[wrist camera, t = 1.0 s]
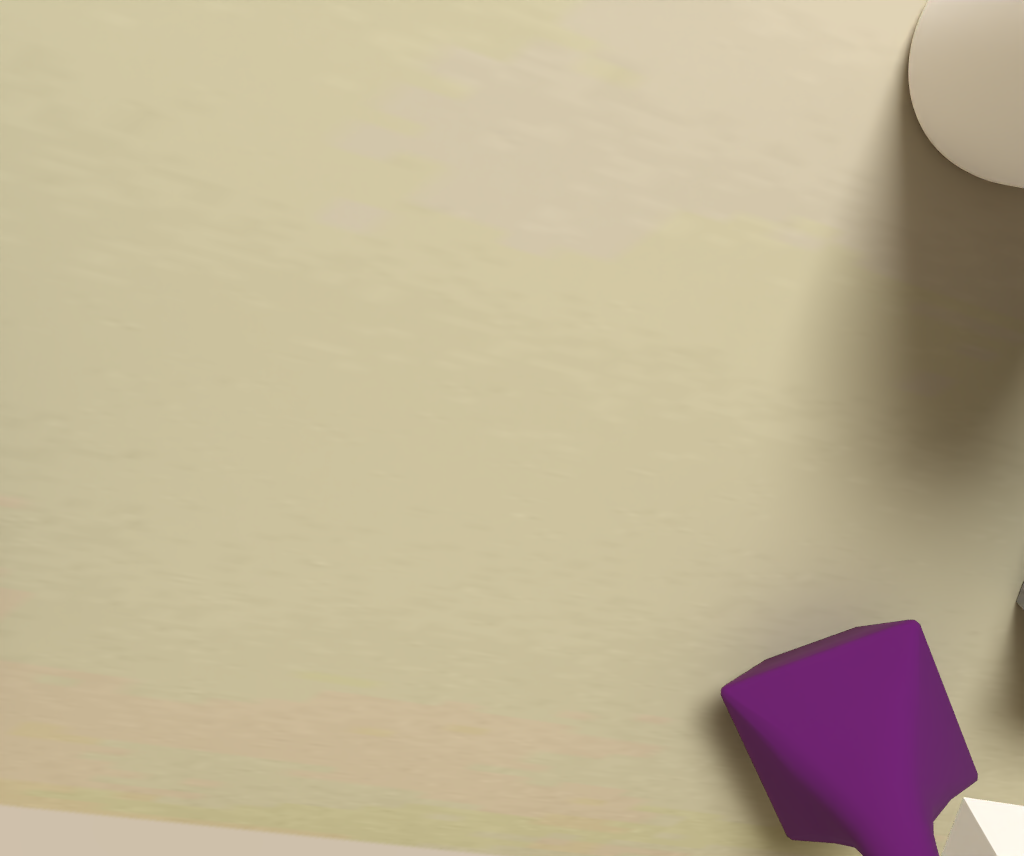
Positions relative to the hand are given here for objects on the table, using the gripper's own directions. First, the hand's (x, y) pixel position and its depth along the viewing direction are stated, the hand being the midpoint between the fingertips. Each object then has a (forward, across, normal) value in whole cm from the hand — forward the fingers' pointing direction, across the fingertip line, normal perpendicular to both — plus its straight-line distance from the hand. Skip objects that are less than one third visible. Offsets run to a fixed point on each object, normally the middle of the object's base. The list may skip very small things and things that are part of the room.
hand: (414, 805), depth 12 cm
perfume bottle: (+24, +15, -12) cm, 31 cm away
